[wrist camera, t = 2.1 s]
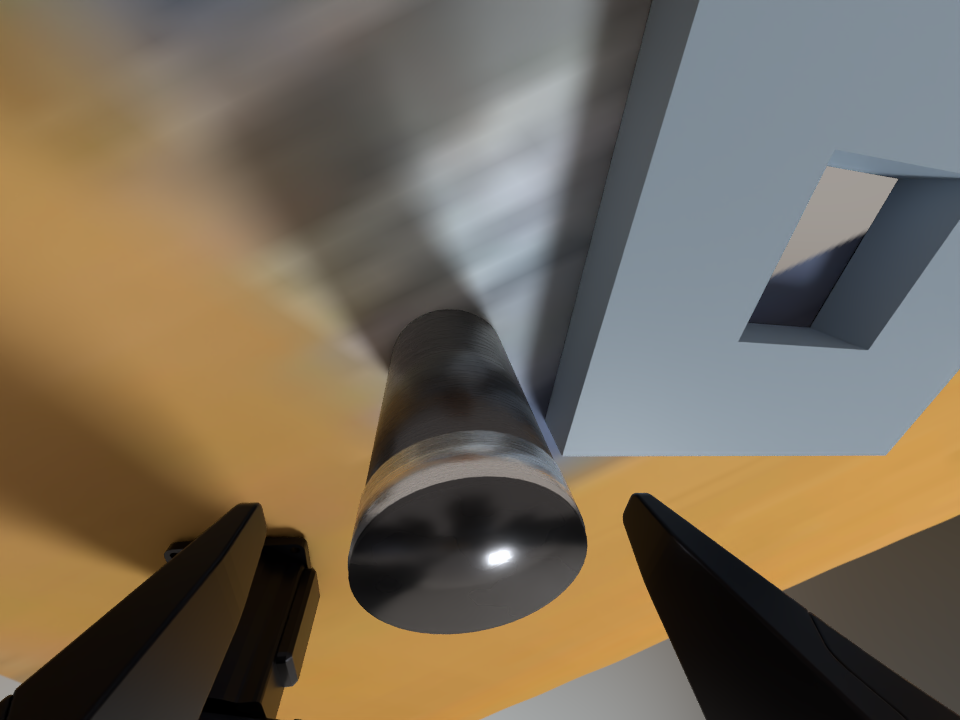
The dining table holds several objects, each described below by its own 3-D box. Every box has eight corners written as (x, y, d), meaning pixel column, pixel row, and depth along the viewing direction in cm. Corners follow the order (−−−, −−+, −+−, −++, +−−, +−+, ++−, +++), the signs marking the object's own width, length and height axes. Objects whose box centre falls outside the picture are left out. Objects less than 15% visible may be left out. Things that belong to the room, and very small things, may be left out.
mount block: (544, 420, 17) (562, 456, 15) (687, -136, 9) (770, -237, 7) (836, 425, 20) (885, 455, 18) (1135, 16, 12) (1291, -19, 10)
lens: (390, 407, 16) (351, 644, 8) (391, 303, 13) (337, 485, 5) (496, 410, 16) (559, 625, 8) (513, 312, 14) (620, 480, 6)
